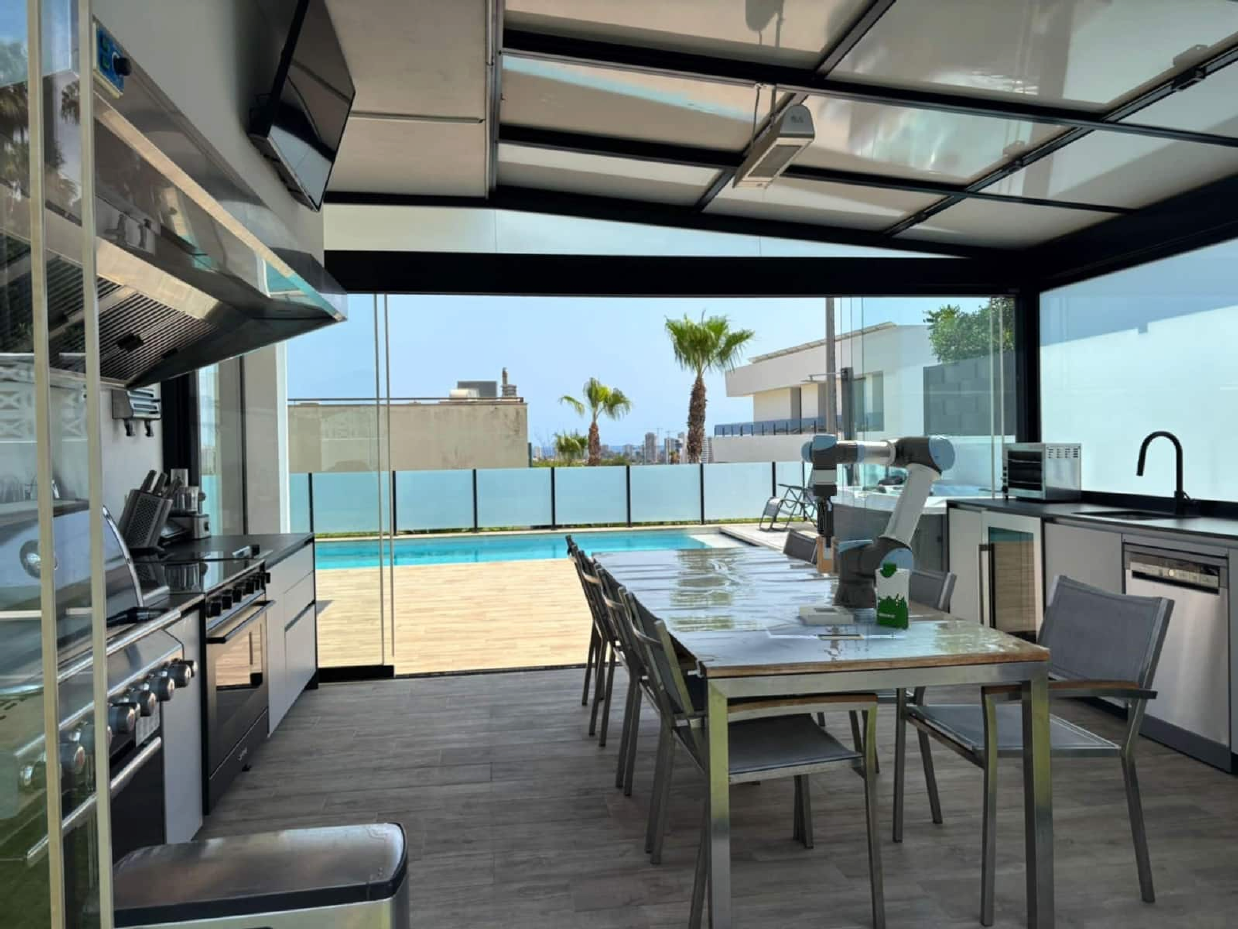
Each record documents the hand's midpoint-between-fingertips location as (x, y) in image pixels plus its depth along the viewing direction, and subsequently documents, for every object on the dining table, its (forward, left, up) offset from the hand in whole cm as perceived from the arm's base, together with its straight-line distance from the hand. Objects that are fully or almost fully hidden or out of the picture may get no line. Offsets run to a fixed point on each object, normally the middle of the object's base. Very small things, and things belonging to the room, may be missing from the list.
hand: (825, 556), depth 263 cm
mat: (0, +17, -21) cm, 27 cm away
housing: (0, 0, -21) cm, 21 cm away
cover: (0, 0, -5) cm, 5 cm away
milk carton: (-19, +7, -21) cm, 29 cm away
